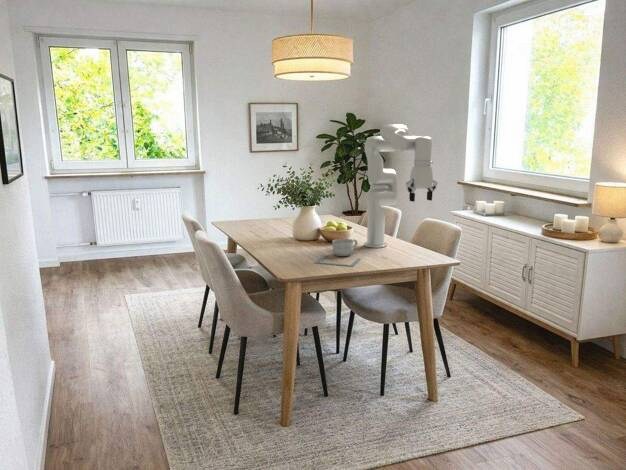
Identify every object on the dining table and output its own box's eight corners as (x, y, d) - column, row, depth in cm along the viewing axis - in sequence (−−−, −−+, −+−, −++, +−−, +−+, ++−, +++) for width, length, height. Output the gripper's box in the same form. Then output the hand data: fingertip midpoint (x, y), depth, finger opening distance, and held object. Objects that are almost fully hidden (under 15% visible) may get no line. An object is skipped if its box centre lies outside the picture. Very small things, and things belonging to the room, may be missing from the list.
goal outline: (323, 255, 266) (323, 255, 266) (361, 259, 259) (361, 258, 259) (313, 263, 251) (313, 262, 251) (353, 266, 245) (353, 266, 245)
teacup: (336, 258, 261) (336, 242, 260) (329, 253, 271) (329, 238, 270) (361, 256, 265) (362, 241, 263) (354, 251, 275) (354, 237, 274)
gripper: (432, 163, 247) (431, 198, 251) (402, 163, 240) (400, 200, 244) (442, 164, 241) (440, 200, 244) (411, 164, 234) (409, 202, 237)
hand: (420, 200), depth 244 cm, fingers open, 9 cm apart
